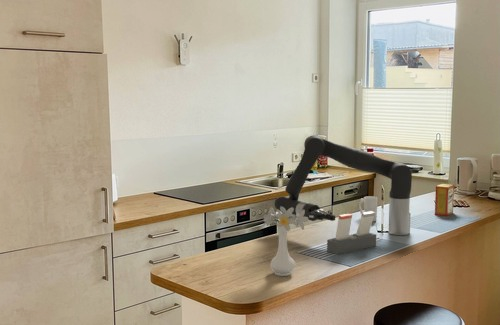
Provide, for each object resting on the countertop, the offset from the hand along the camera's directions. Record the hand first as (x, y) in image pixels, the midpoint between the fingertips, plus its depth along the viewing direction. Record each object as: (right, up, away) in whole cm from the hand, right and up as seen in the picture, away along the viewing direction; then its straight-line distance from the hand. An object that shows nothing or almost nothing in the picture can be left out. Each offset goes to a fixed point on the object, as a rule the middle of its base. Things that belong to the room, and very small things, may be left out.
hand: (334, 218), depth 243 cm
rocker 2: (+13, -8, +4) cm, 15 cm away
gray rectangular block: (+8, -13, +1) cm, 15 cm away
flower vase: (-24, -18, -31) cm, 43 cm away
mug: (+25, -6, +53) cm, 59 cm away
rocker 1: (+3, -9, -3) cm, 9 cm away
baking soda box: (+70, -4, +66) cm, 96 cm away
